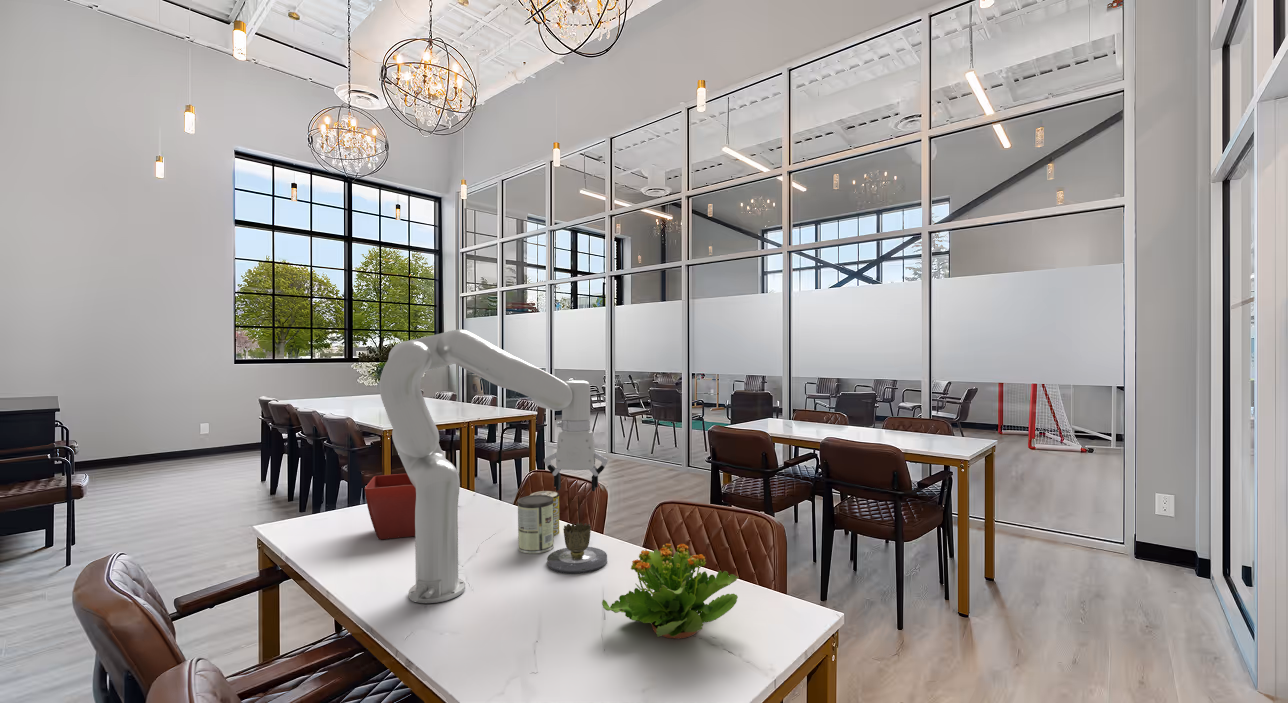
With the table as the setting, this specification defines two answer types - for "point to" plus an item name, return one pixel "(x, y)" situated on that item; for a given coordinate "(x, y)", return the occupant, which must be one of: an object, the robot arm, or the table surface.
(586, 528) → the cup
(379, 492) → the plant pot
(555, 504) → the yellow tin can
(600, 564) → the gray dinner plate
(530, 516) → the coffee can
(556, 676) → the table surface
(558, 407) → the robot arm
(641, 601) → the potted flower
